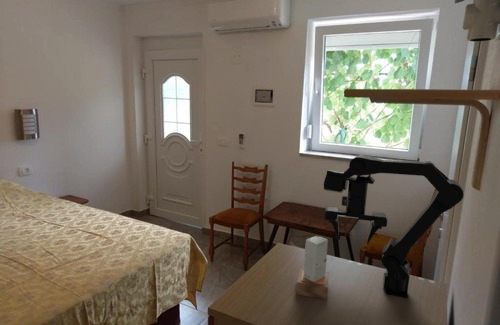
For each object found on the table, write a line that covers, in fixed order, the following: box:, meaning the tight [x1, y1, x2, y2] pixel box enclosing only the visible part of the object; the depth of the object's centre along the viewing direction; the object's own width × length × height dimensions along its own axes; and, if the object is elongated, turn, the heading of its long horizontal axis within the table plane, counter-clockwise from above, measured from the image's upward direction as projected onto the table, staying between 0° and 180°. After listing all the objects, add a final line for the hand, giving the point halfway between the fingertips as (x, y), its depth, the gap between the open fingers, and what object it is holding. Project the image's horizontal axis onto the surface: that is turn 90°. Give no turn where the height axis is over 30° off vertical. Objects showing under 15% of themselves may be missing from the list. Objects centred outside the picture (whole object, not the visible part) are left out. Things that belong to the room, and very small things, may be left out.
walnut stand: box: [295, 267, 330, 301], centre depth 103 cm, size 9×9×4 cm
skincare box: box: [303, 235, 329, 282], centre depth 101 cm, size 6×4×12 cm
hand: (352, 241), depth 108 cm, fingers open, 9 cm apart
